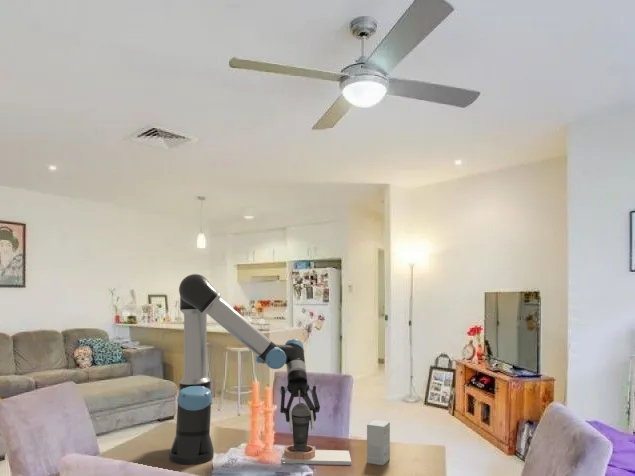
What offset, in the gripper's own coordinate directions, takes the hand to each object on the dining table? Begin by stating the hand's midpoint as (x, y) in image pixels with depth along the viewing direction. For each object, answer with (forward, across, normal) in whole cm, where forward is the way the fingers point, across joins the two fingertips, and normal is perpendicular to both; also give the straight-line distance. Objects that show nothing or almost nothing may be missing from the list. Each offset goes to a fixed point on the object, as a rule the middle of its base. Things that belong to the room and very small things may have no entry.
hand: (302, 429), depth 171 cm
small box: (+10, -27, -6) cm, 30 cm away
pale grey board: (+6, -6, -9) cm, 13 cm away
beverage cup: (+3, 0, -8) cm, 8 cm away
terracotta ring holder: (+4, 0, -9) cm, 10 cm away
